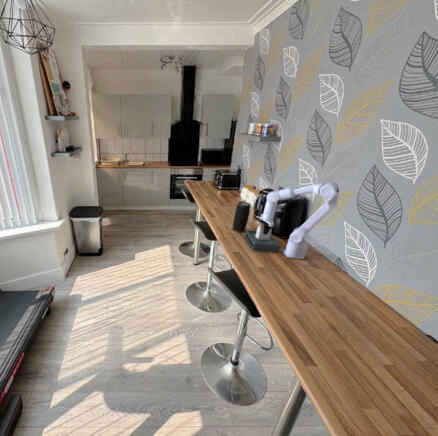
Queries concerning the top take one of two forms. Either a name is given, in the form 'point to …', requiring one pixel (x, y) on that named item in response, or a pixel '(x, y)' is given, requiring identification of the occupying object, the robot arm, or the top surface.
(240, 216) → the portable speaker
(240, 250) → the top surface
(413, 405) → the top surface
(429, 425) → the top surface
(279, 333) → the top surface
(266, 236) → the light grey block
